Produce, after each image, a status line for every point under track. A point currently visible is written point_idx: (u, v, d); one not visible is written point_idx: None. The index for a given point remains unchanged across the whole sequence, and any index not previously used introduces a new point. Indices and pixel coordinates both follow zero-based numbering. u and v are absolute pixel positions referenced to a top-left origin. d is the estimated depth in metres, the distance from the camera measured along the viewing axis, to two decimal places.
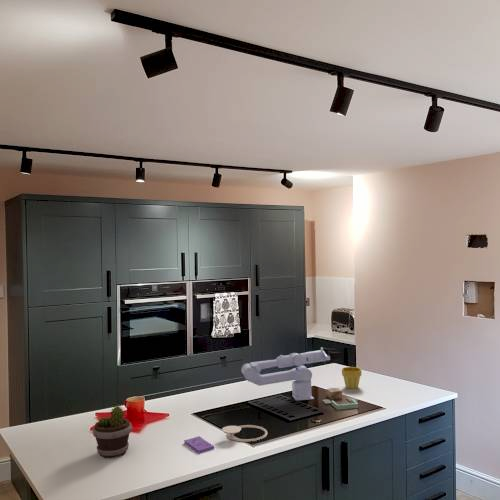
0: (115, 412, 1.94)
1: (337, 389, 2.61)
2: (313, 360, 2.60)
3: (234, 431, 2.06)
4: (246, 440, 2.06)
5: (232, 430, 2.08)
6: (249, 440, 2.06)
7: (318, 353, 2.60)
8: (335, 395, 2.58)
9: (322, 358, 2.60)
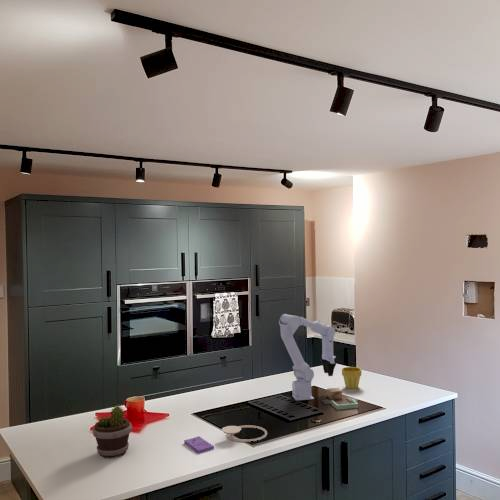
0: (115, 412, 1.94)
1: (337, 389, 2.61)
2: (329, 347, 2.67)
3: (234, 431, 2.06)
4: (246, 440, 2.06)
5: (232, 430, 2.07)
6: (249, 440, 2.06)
7: (332, 353, 2.68)
8: (335, 395, 2.58)
9: (328, 356, 2.67)
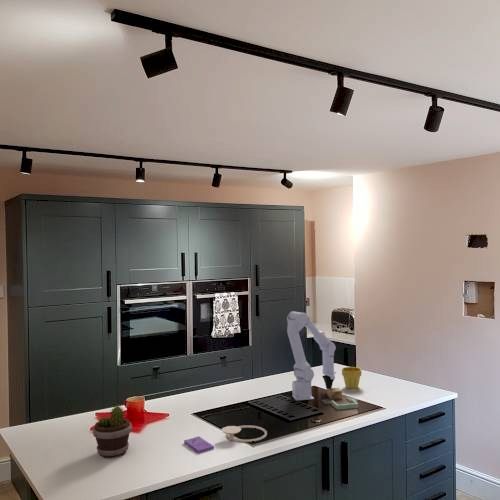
0: (115, 412, 1.94)
1: (337, 389, 2.61)
2: (329, 363, 2.67)
3: (234, 431, 2.06)
4: (246, 440, 2.05)
5: (232, 430, 2.07)
6: (249, 440, 2.05)
7: (333, 368, 2.68)
8: (335, 395, 2.58)
9: (328, 372, 2.67)
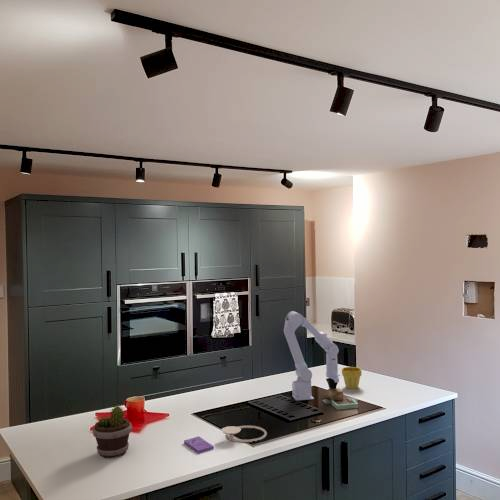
0: (115, 412, 1.94)
1: (338, 389, 2.60)
2: (331, 365, 2.61)
3: (234, 432, 2.06)
4: (246, 440, 2.05)
5: (232, 430, 2.07)
6: (249, 440, 2.05)
7: (336, 371, 2.62)
8: (336, 395, 2.57)
9: (332, 375, 2.61)
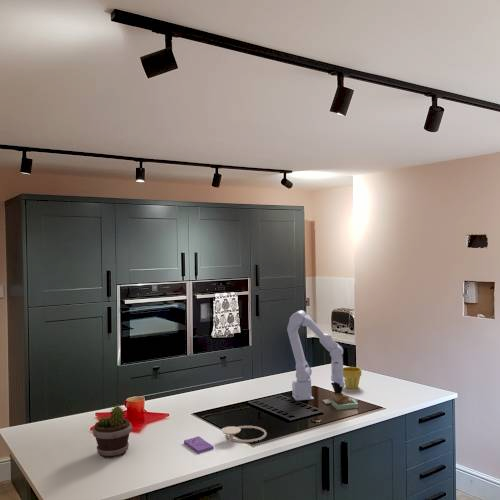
0: (115, 412, 1.94)
1: (343, 394, 2.52)
2: (334, 369, 2.54)
3: (234, 432, 2.06)
4: (246, 441, 2.05)
5: (232, 431, 2.07)
6: (249, 441, 2.05)
7: (342, 375, 2.54)
8: (341, 400, 2.49)
9: (337, 379, 2.53)
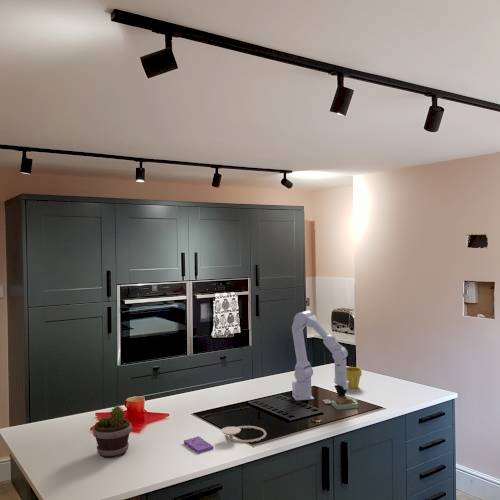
0: (115, 412, 1.94)
1: (347, 397, 2.47)
2: (336, 371, 2.49)
3: (234, 432, 2.05)
4: (246, 441, 2.05)
5: (232, 431, 2.07)
6: (249, 441, 2.05)
7: (346, 377, 2.49)
8: None
9: (341, 381, 2.48)
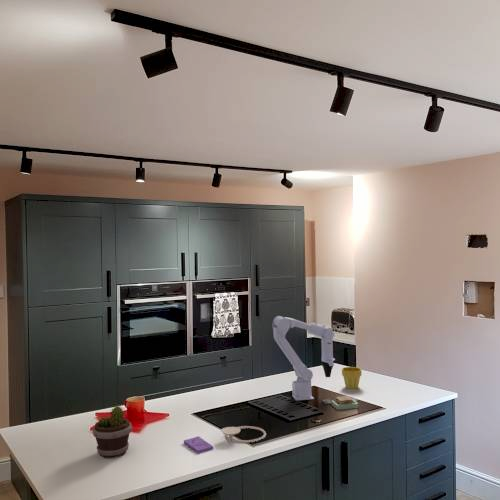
0: (115, 412, 1.94)
1: (347, 397, 2.47)
2: (327, 349, 2.62)
3: (234, 432, 2.05)
4: (246, 441, 2.05)
5: (232, 431, 2.06)
6: (249, 441, 2.05)
7: (332, 355, 2.63)
8: None
9: (327, 359, 2.62)
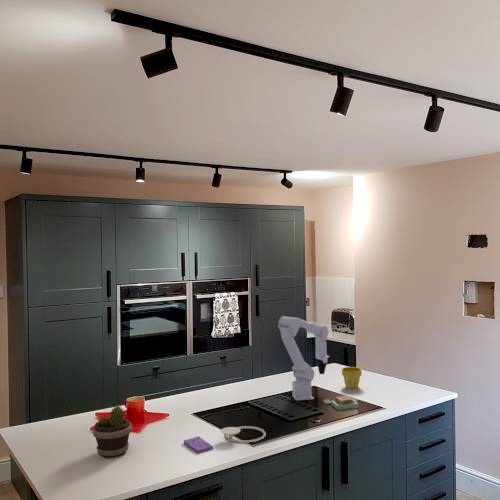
0: (115, 412, 1.94)
1: (347, 397, 2.47)
2: (323, 347, 2.69)
3: (233, 432, 2.05)
4: (246, 441, 2.04)
5: (231, 431, 2.06)
6: (249, 441, 2.05)
7: (325, 352, 2.69)
8: None
9: (321, 356, 2.68)
